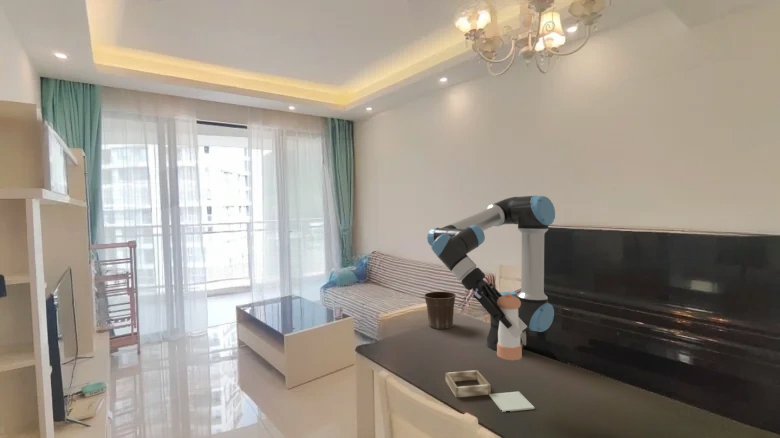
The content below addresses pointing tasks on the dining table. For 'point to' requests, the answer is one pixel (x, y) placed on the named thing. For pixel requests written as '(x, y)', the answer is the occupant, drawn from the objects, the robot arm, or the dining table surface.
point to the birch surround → (468, 390)
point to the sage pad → (511, 401)
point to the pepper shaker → (506, 341)
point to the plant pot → (440, 309)
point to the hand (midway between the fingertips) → (521, 332)
